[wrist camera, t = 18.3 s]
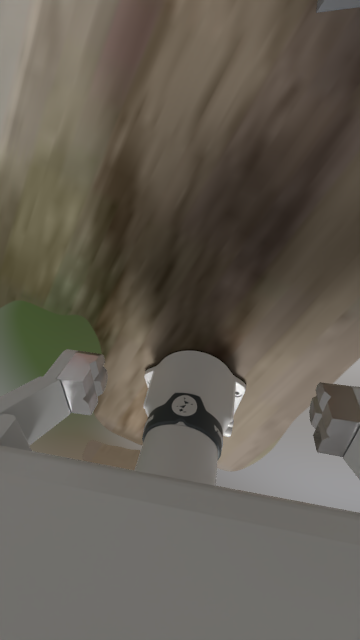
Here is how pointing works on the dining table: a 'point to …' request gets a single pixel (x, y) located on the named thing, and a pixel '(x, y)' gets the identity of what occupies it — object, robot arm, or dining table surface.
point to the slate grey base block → (336, 5)
